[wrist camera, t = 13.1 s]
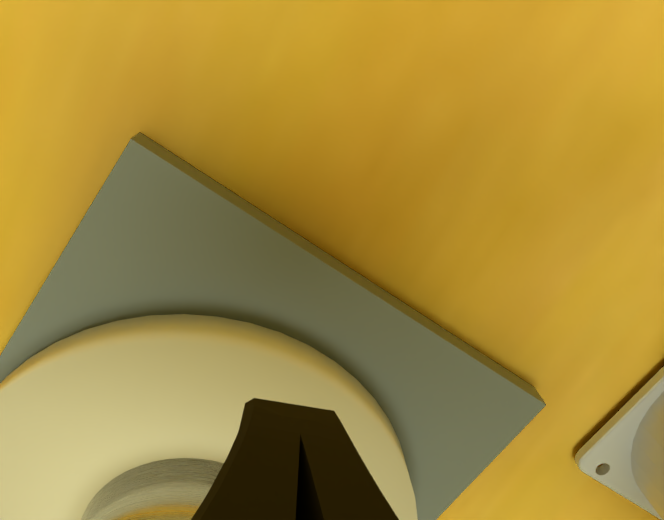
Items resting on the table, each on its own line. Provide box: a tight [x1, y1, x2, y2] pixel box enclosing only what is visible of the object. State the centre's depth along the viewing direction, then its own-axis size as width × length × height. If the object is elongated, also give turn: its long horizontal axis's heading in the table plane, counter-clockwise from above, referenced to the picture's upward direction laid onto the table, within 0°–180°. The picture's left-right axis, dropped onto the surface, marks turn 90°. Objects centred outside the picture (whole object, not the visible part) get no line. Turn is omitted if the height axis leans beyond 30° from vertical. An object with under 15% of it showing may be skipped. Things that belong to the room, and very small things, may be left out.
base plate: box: [0, 132, 546, 520], centre depth 20 cm, size 15×19×1 cm
